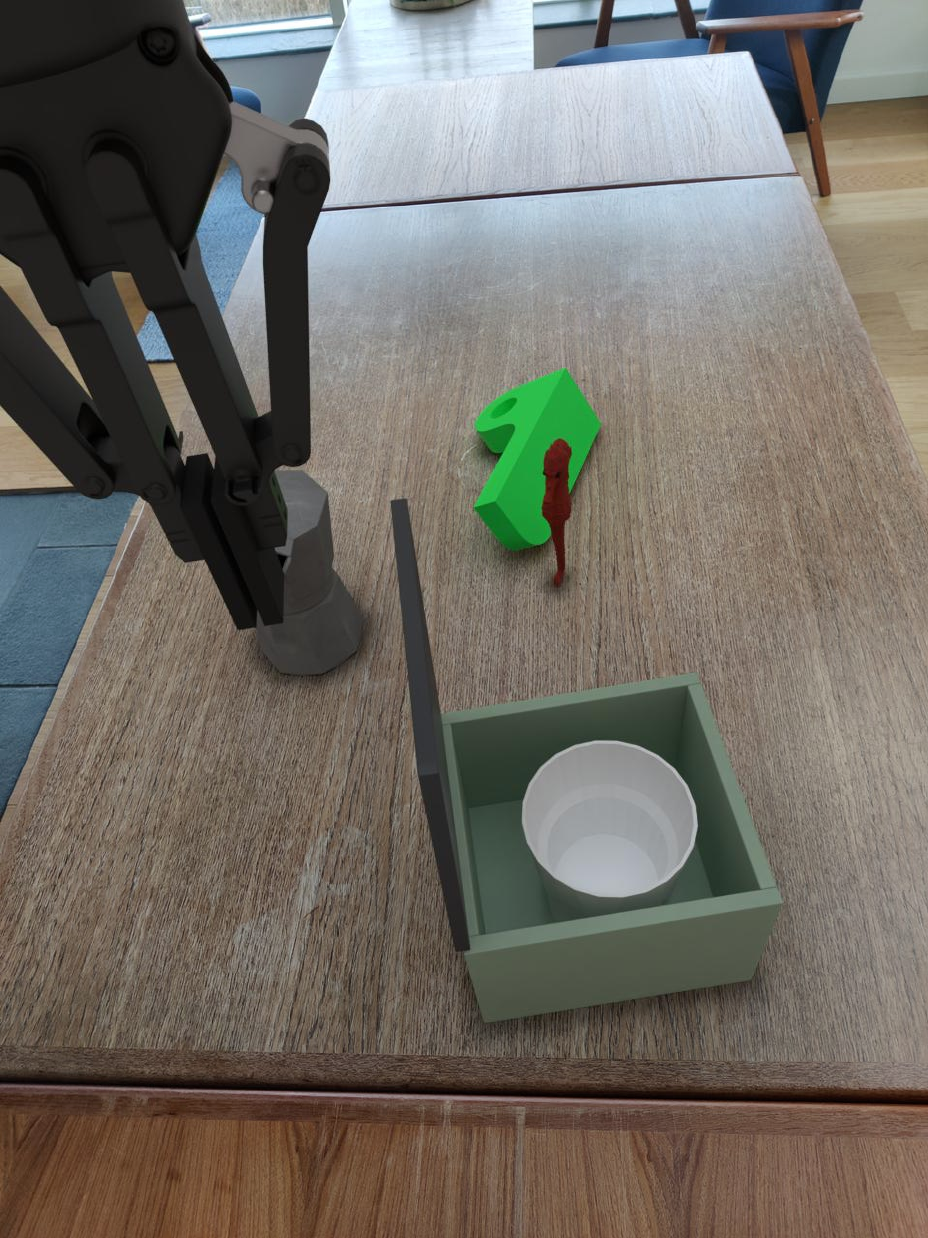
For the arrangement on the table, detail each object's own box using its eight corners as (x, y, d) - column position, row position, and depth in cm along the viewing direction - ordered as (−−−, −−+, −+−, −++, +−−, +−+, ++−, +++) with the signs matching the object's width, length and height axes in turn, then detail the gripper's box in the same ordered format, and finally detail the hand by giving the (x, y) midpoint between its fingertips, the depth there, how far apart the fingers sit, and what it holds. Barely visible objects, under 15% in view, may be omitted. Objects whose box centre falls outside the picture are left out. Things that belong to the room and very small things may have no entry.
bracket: (525, 450, 96) (489, 397, 93) (602, 425, 90) (565, 366, 86) (457, 579, 85) (412, 524, 81) (538, 560, 78) (494, 499, 75)
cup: (708, 862, 59) (726, 788, 52) (638, 993, 54) (646, 931, 47) (577, 793, 63) (576, 715, 56) (502, 908, 59) (489, 840, 51)
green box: (681, 769, 65) (697, 671, 56) (751, 980, 55) (783, 903, 46) (455, 805, 65) (434, 714, 56) (484, 1023, 55) (464, 955, 46)
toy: (536, 600, 77) (528, 466, 66) (555, 557, 80) (550, 422, 69) (563, 606, 76) (559, 471, 65) (580, 562, 79) (579, 427, 68)
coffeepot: (381, 678, 73) (334, 519, 60) (270, 710, 72) (196, 556, 59) (346, 554, 83) (299, 394, 70) (248, 581, 82) (181, 424, 69)
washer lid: (406, 497, 42) (390, 499, 42) (439, 772, 32) (417, 776, 32) (440, 709, 56) (427, 710, 56) (470, 950, 46) (455, 953, 46)
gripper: (267, -258, 20) (418, 512, 38) (-315, -163, 20) (110, 562, 38) (257, -215, 15) (435, 646, 33) (-516, -89, 15) (81, 704, 33)
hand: (261, 600), depth 35 cm, fingers closed
